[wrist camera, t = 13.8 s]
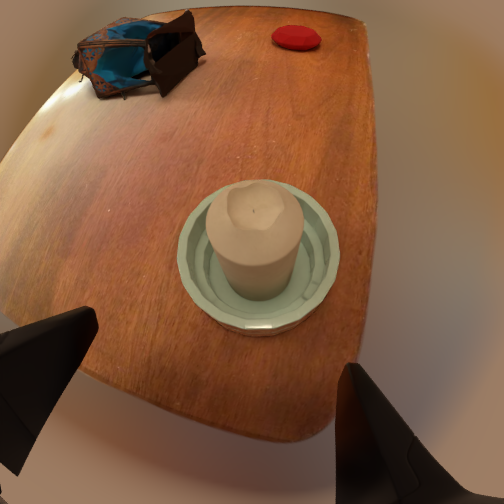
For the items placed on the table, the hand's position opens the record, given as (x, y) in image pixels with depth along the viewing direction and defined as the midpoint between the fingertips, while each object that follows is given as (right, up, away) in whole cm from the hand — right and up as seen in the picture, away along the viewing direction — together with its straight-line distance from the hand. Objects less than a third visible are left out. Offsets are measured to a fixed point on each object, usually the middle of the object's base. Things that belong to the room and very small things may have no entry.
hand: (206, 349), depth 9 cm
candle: (+2, +2, +15) cm, 15 cm away
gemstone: (+10, +42, +32) cm, 54 cm away
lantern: (-19, +33, +30) cm, 49 cm away
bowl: (+2, +2, +15) cm, 16 cm away
